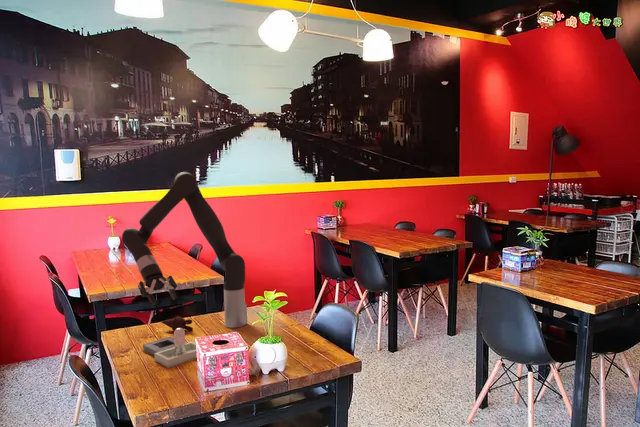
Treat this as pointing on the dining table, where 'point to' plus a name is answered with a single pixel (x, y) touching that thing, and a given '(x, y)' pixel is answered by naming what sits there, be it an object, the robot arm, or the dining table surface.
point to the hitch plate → (159, 345)
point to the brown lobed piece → (178, 323)
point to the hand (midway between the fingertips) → (164, 301)
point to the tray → (170, 360)
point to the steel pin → (179, 341)
